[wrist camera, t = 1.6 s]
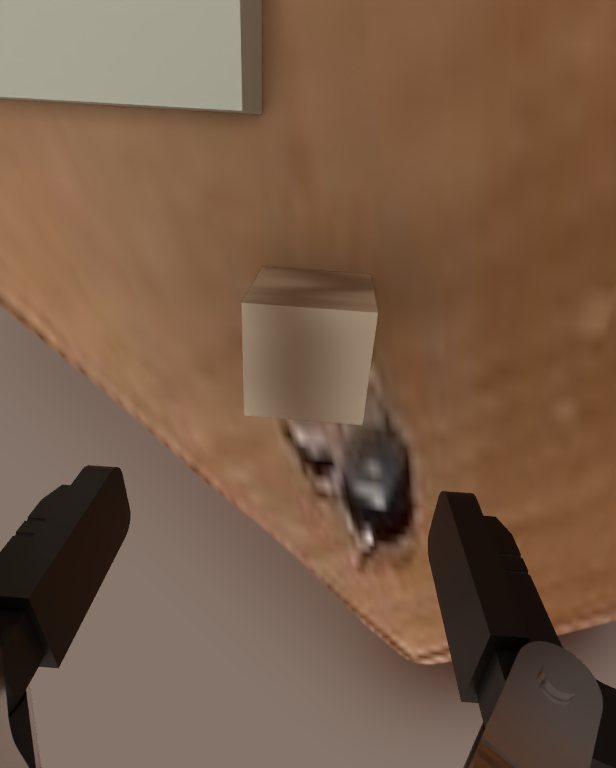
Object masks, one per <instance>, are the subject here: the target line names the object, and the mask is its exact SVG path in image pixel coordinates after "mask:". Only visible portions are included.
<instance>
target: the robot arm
mask: <svg viewBox="0 0 616 768" xmlns="http://www.w3.org/2000/svg"><path fill="white" fill-rule="evenodd" d="M129 524H130V507H129V503H128V498H127V493H126V488H125V484H124V479H123V475H122V471H121V469H120V468H118V467H104V466H90V465H88V466H86V467H84V468H83V469H82V471H81V472H80V473H79V475H78V476H77V478H76V479H75V480H74V481H73V483H72V484H71V485H61V486H60V487H58V488H57V489H56V490H54V491H53V492H51V493H50V494H49V495H47V496H46V497H44V498H43V499H42V500H41V501H40V502H39V504H38V505H37V506H36V508H35V509H34V510H33V511H32V512H31V514H30V515H29V516H28V520H27V521H24V523H23V524H22V525H21V526H20V528H19V529H18V530H17V531H16V535H15V536H12V538H11V539H10V540H9V542H8V543H7V544H6V545H5V547H4V548H3V549H2V551H1V552H0V768H42V767H41V760H40V753H39V745H38V738H37V730H36V723H35V716H34V708H33V701H32V694H31V688H30V685H29V683H30V681H31V679H32V678H33V676H34V674H35V672H36V671H37V669H38V667H51V668H59V666H60V664H61V662H62V660H63V659H64V657H65V655H66V653H67V651H68V648H69V647H70V645H71V643H72V641H73V639H74V637H75V635H76V633H77V631H78V629H79V627H80V625H81V623H82V621H83V619H84V617H85V615H86V613H87V611H88V609H89V607H90V606H91V604H92V602H93V600H94V598H95V596H96V594H97V592H98V590H99V588H100V586H101V584H102V582H103V580H104V578H105V576H106V574H107V572H108V570H109V568H110V566H111V564H112V562H113V560H114V558H115V557H116V555H117V552H118V551H119V549H120V547H121V545H122V543H123V541H124V539H125V537H126V535H127V532H128V529H129ZM428 556H429V561H430V566H431V570H432V575H433V579H434V583H435V588H436V592H437V597H438V601H439V606H440V610H441V614H442V619H443V623H444V628H445V632H446V636H447V641H448V645H449V650H450V654H451V659H452V663H453V667H454V672H455V676H456V681H457V685H458V690H459V694H460V698H461V701H462V702H472V703H473V702H474V703H479V706H480V710H481V714H482V718H483V723H482V725H481V727H480V729H479V732H478V734H477V736H476V739H475V741H474V743H473V746H472V748H471V750H470V753H469V755H468V758H467V760H466V762H465V764H464V767H463V768H616V689H615V688H612V687H610V686H608V685H605V684H603V683H601V682H600V681H598V680H596V679H595V678H594V676H593V675H592V673H591V672H590V671H589V669H588V668H587V667H586V666H585V665H584V664H583V663H582V662H581V661H580V660H579V659H578V658H577V657H576V656H575V655H573V654H572V653H570V652H569V651H567V650H566V649H564V648H563V646H562V645H561V643H560V641H559V639H558V637H557V635H556V632H555V630H554V628H553V626H552V623H551V621H550V619H549V617H548V614H547V612H546V610H545V608H544V605H543V603H542V601H541V599H540V596H539V594H538V592H537V590H536V587H535V585H534V583H533V581H532V578H531V576H530V575H528V569H527V567H526V565H525V563H524V561H523V558H521V554H520V552H519V549H518V547H517V545H516V543H515V540H514V538H513V536H512V534H511V533H510V532H509V531H508V530H507V529H506V527H505V526H504V525H503V524H502V523H501V522H500V521H499V520H498V519H497V518H496V517H492V516H483V514H482V511H481V509H480V506H479V503H478V501H477V499H476V497H475V495H474V494H472V493H461V492H447V491H442V492H441V493H440V495H439V497H438V501H437V505H436V509H435V512H434V516H433V520H432V524H431V527H430V531H429V536H428Z"/></svg>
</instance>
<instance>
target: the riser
mask: <svg viewBox="0 0 616 768" xmlns="http://www.w3.org/2000/svg"><path fill="white" fill-rule="evenodd" d="M0 99H6V100H23V101H40V102H57V103H74V104H91V105H108V106H125V107H142V108H159V109H176V110H193V111H210V112H227V113H244V114H261V115H262V0H0Z"/></svg>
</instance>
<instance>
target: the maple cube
mask: <svg viewBox="0 0 616 768" xmlns="http://www.w3.org/2000/svg"><path fill="white" fill-rule="evenodd" d="M241 305H242V346H243V386H244V415H245V416H257V417H269V418H281V419H293V420H305V421H318V422H330V423H342V424H354V425H362V424H363V417H364V410H365V403H366V396H367V389H368V382H369V374H370V367H371V360H372V353H373V346H374V339H375V332H376V325H377V318H378V309H377V304H376V299H375V294H374V289H373V284H372V278H371V274H364V273H350V272H335V271H321V270H307V269H293V268H279V267H265V266H262V268H261V270H260V271H259V273H258V275H257V277H256V278H255V280H254V282H253V284H252V285H251V287H250V289H249V290H248V292H247V294H246V296H245V297H244V299H243V301H242V303H241Z"/></svg>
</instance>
